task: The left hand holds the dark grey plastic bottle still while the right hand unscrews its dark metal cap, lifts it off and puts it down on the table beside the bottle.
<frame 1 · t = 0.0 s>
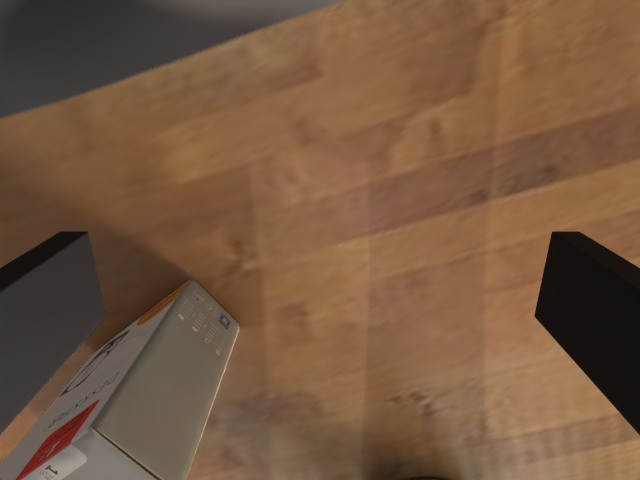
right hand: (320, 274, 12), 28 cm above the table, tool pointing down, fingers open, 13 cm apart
hard drive box: (165, 338, 46), on the table
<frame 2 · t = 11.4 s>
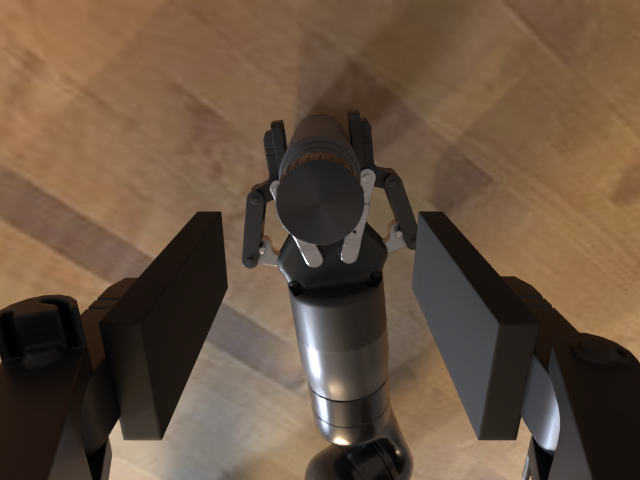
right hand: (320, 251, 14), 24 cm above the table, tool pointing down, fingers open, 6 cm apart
cap: (319, 201, 19), point 18 cm above the table, screwed on, not yet turned
bottle: (319, 143, 36), on the table, touching left hand
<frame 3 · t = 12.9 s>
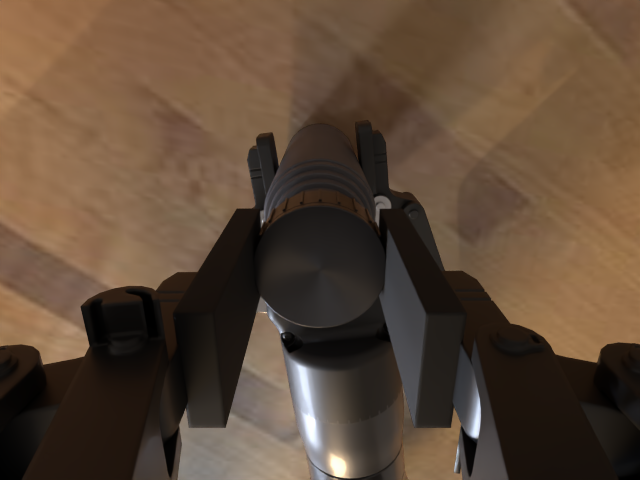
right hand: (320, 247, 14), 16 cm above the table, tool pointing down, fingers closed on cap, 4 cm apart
cap: (319, 266, 13), point 18 cm above the table, screwed on, not yet turned, touching right hand
bottle: (319, 158, 30), on the table, touching left hand
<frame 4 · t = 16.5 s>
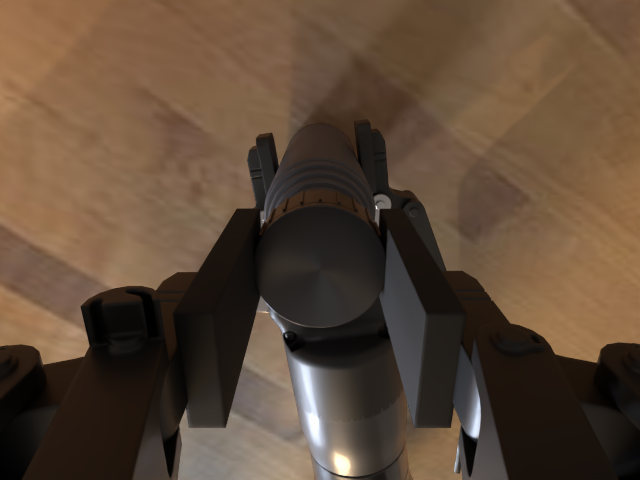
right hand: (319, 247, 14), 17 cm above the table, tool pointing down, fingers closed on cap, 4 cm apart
cap: (319, 266, 13), point 18 cm above the table, turned 124° so far, risen 0.1 cm, still on its thread, touching right hand
bottle: (319, 157, 30), on the table, touching left hand
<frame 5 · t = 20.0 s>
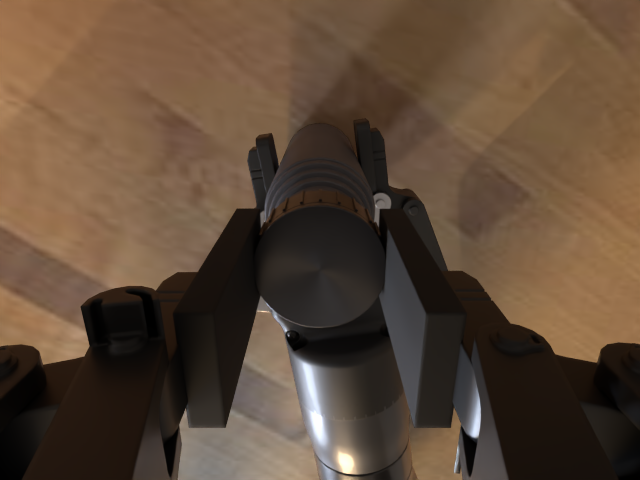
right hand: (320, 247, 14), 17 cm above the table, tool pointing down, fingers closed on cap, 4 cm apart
cap: (319, 266, 13), point 18 cm above the table, turned 249° so far, risen 0.2 cm, still on its thread, touching right hand
bottle: (319, 157, 30), on the table, touching left hand
when the right hand's fingers open (2 cm above the table, at t = 29.6 s): cap drops 2 cm, point 1 cm above the table.
when the left hand's fingers open (6 cm above the table, at t = 30.9 s): bottle stays where it is, on the table.
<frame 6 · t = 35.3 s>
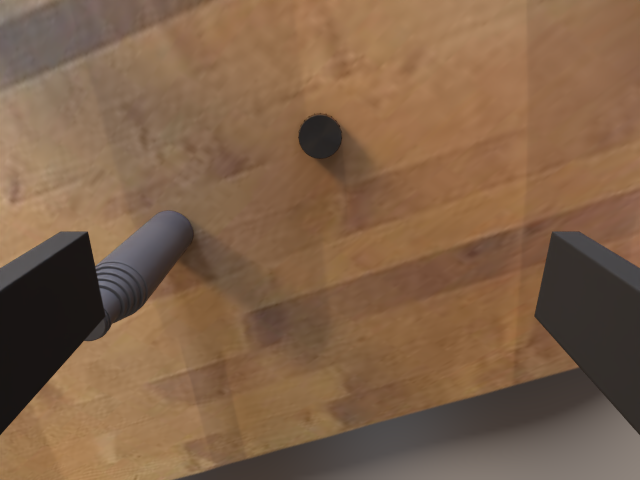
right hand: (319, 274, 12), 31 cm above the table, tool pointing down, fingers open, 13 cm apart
cap: (320, 136, 40), point 1 cm above the table, off its thread
bottle: (171, 231, 45), on the table
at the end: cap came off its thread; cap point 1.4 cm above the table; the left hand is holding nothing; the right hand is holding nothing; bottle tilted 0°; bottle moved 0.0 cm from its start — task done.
